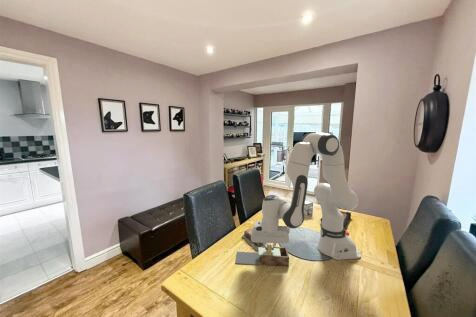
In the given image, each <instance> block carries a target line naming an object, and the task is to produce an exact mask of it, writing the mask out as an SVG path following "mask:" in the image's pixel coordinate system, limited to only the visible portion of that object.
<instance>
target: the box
mask: <svg viewBox="0 0 476 317" xmlns="http://www.w3.org/2000/svg"><path fill="white" fill-rule="evenodd" d="M261 247H263V248H265V247H264V246H261ZM274 248H279V249H280V254H281V256H270V255H262V256H260V257H261V265H262V266H280V267H281V266H282V267H289V266H290V254H289V251H288V248H287V246H275V247H274Z"/></svg>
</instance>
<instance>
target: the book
mask: <svg viewBox="0 0 476 317" xmlns="http://www.w3.org/2000/svg"><path fill="white" fill-rule="evenodd" d="M340 212H341V213H342V214H343V217H344V221H343V228H344V229H345V230H346V231H347V225H348V223H349V221H350V220H351V219H352V218H351V217H352V212H349V211H343V210H340ZM319 220H320V224H319V225H320V226H321V225H322V217H321V218H319Z"/></svg>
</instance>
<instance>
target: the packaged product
mask: <svg viewBox="0 0 476 317" xmlns="http://www.w3.org/2000/svg"><path fill="white" fill-rule="evenodd" d="M243 232H244V233H243V234H242V235H241V237H242V238H243V239H244V240H245V241H246V242H247V244H249V245H250V246H251V247H252V248H253V249H255V251H258V252H259V249H258V248H259V247H261V246H264V245H263V243H260V242H252V241H251V232H252V228H248V229H246V230H244V231H243ZM266 245H267V243H266Z"/></svg>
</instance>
